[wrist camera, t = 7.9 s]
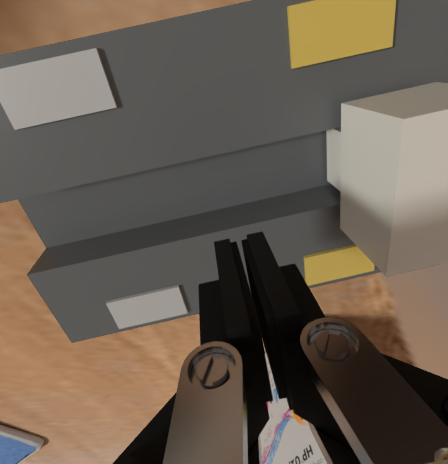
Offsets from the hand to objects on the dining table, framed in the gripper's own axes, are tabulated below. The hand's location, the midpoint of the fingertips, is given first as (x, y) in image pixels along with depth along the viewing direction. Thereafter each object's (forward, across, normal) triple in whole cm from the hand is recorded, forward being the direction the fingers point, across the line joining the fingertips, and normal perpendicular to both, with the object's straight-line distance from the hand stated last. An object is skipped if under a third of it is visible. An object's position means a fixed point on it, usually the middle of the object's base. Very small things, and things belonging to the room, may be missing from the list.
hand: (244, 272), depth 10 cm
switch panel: (+9, 0, -1) cm, 9 cm away
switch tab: (+7, -7, -1) cm, 10 cm away
